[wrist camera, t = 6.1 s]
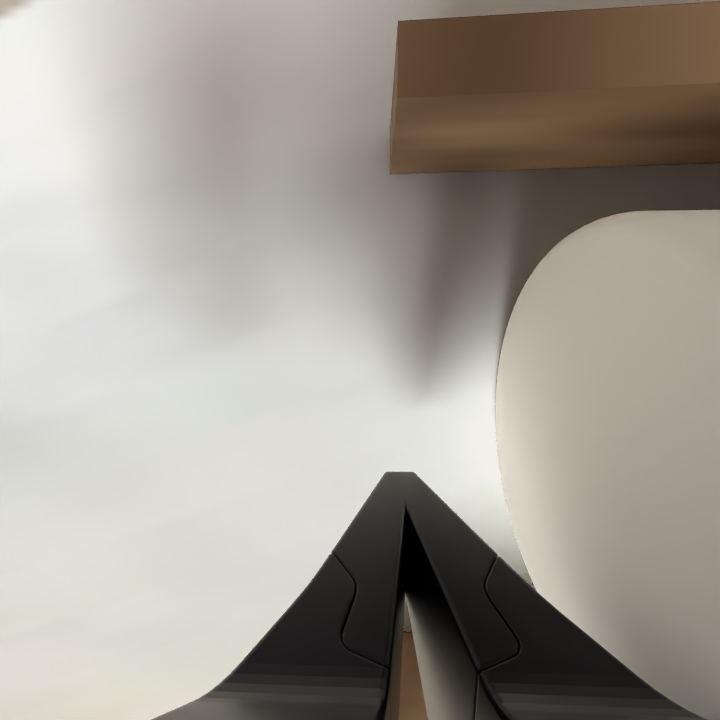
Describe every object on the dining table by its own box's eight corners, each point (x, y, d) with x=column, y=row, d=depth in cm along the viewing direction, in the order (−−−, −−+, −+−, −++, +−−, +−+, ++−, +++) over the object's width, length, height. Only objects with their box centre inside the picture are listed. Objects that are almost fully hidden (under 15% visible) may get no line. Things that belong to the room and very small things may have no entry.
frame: (1020, 106, 8) (1616, -53, 4) (797, 671, 12) (990, 852, 8) (389, 131, 9) (398, 20, 5) (387, 651, 13) (390, 806, 9)
